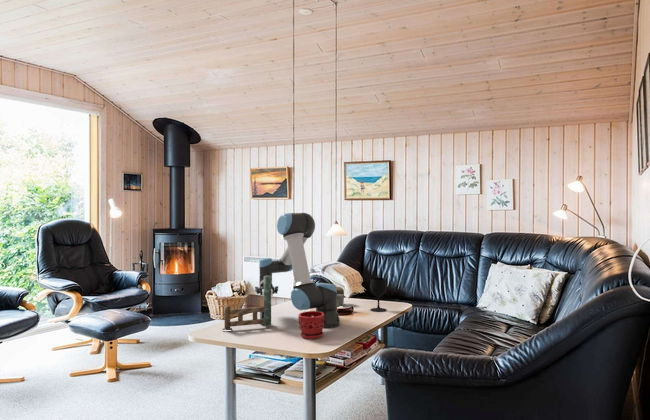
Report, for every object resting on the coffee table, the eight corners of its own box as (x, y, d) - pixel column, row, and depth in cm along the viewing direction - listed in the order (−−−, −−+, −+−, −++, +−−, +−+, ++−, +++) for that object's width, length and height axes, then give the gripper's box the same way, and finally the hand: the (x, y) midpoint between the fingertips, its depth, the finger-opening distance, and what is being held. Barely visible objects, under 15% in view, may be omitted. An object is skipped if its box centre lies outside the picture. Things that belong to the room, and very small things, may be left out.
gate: (225, 329, 274) (224, 279, 273) (224, 327, 277) (223, 278, 277) (272, 324, 282) (271, 276, 282) (270, 323, 286) (269, 275, 286)
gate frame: (269, 324, 289) (269, 310, 289) (225, 332, 273) (225, 317, 273) (265, 323, 293) (264, 309, 293) (221, 330, 277) (220, 315, 277)
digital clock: (344, 309, 329) (344, 292, 329) (343, 312, 320) (343, 295, 320) (318, 309, 330) (318, 292, 330) (317, 312, 321) (317, 295, 321)
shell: (344, 306, 339) (344, 288, 339) (327, 306, 339) (327, 288, 339) (344, 303, 350) (343, 285, 349) (327, 303, 350) (327, 285, 350)
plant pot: (299, 333, 269) (299, 310, 269) (324, 333, 269) (324, 310, 268) (297, 340, 256) (297, 316, 256) (324, 340, 256) (323, 316, 255)
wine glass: (389, 309, 327) (389, 278, 327) (382, 312, 319) (382, 280, 318) (374, 307, 333) (374, 277, 333) (367, 310, 324) (367, 279, 324)
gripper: (280, 292, 304) (283, 300, 281) (251, 293, 301) (251, 301, 278) (280, 280, 304) (283, 286, 281) (251, 280, 301) (251, 287, 278)
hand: (267, 293), depth 279 cm, fingers closed on gate, 4 cm apart
